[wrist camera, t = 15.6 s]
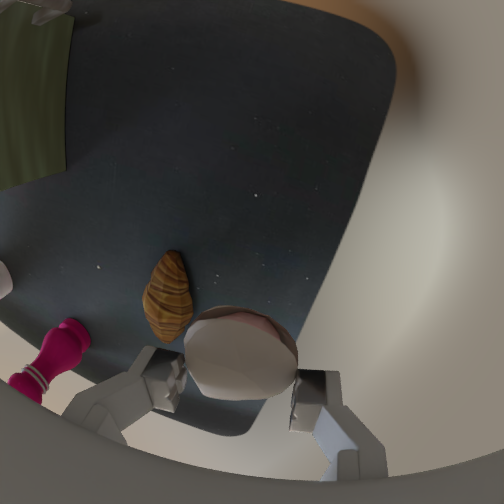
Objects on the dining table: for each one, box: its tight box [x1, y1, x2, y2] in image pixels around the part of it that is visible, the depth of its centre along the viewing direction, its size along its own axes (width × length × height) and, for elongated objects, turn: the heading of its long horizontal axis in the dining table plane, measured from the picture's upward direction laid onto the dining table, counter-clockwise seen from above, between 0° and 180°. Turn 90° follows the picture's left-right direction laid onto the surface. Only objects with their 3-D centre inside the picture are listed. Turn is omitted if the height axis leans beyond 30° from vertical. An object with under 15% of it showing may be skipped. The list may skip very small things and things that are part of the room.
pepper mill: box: [7, 318, 91, 405], centre depth 33 cm, size 7×7×20 cm
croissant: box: [142, 250, 193, 344], centre depth 33 cm, size 14×7×5 cm, turn 168°
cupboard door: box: [0, 0, 75, 191], centre depth 16 cm, size 6×22×22 cm, turn 178°
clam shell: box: [184, 306, 298, 400], centre depth 10 cm, size 4×5×2 cm
